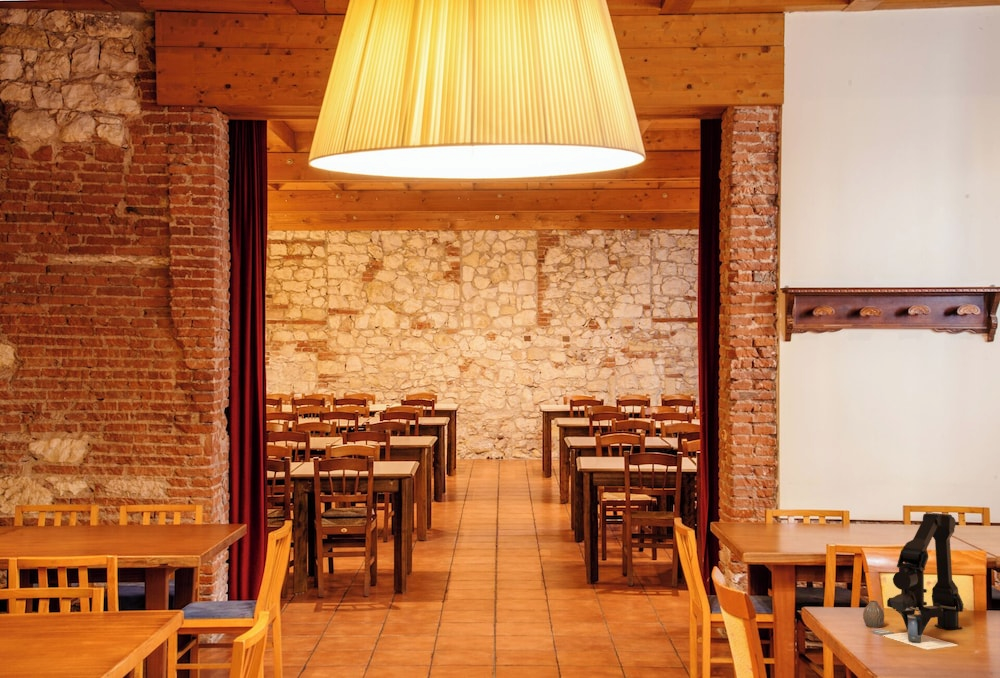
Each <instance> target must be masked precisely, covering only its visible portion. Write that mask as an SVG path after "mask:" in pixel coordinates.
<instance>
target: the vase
mask: <svg viewBox="0 0 1000 678" xmlns="http://www.w3.org/2000/svg"><path fill="white" fill-rule="evenodd" d="M862 619H863V623H864V625H866V626H867V627H868V628H873V629H877V628H880V627H882V626H883V624H884V621H885V613H884V610H883V608H882V607H881V606H880V604H879V602H878V601H877V600H869V602H868V604H867V605H866V606H865V608H864V609H863V613H862Z"/></svg>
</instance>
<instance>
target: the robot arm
mask: <svg viewBox="0 0 1000 678" xmlns="http://www.w3.org/2000/svg"><path fill="white" fill-rule="evenodd" d="M955 528H956V519H955V517H954V516H953V515H952V514H948V513H947V514H946V513H938V512H937V513H935V512H932V513H929V512H926V513H924V514H923V515H922V521H921V523H920V525H919V526H918V529H917V530H916V533H915V535H914V536H913V538H912V540H909V541H908V542H906V543H905V544H904V546H903V547H902V549H901V551H900V554H899V557H898V561H897V565H896V568H897V569H898V572H896V573H894V575H893V577H892V582H893V585H894V586H895V587H896V588H897V589H899V590H901V593H899V594H896V595H894V596H893V597H888V599H887V600H886V607H888V608H891V609H893V610H895V611H896V612H897V613H898V614H900V615H901V617H902V620H903V622H904V626H905V628H906V632H908V617H907V615H908V614H916V611H917V612H918V614H917V615H914V616H915V617H916V619H917V630H918V635H919V636H921V635H923V633H924V631H925V629H926V628H927V626H928V623H929V622H930V621H931V619H932V618H933V619H934V618H936V619H937V620H936V621H937V623H936V624H934V627H937V628H940V629H944V630H947V631H952V630H959V629H963V626H960V625H959V613H963V612H964V607H965V606H964V602H963V600H962V597H961V595H960V593H959V588H958V586H957V584H956V583H955V582H954V581H953V571H952V555H951V554H952V553H951V551H952V550H951V538H952V536H953V534H954V533H955ZM932 538H933V539H934V545H935V546H934V547H935V561H936V565H935V566H936V576H937V577H936V579H937V581H936V582H935V585H934V586H933V587H932V591H931V592H932V593H931V601H932V605H928V602H927V601H925V594H926V593H927V591H928V590H927V589H926V588H925V586H924V585H925V583H924V581H925V577H924V576H925V573H924V571H925V570H926V565H927V563H928V560H929V553H928V550H927V549H928V547H929V545H930V544H931V543H930V542H931V541H932Z"/></svg>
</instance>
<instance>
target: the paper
mask: <svg viewBox="0 0 1000 678" xmlns="http://www.w3.org/2000/svg"><path fill="white" fill-rule="evenodd" d="M884 636H885V637H884ZM882 637H884V638H888V639H891V640H895V641H898V642H901V643H904V644H908V645H911V646H914V647H917V648H920V649H923V650H928V651H929V650H935V649H944V648H951V647H953V648H954V647H958V646H959V645H958V643H957V644H955V643H953V642H950V641H949V642H948V641H945V640H942V639H939V638H936V637H931V636H929V635H925V634H922V635H921V642H913V641H909V640H908V631H906V632H899V633H894V634H886V635H882Z"/></svg>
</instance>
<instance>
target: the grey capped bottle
mask: <svg viewBox="0 0 1000 678" xmlns="http://www.w3.org/2000/svg"><path fill="white" fill-rule="evenodd" d="M914 615H918V614H916V613H915V614H908V615H907V617H908V631H907V632H908V640H909V641H913V642H921V636H919V635H918V630H917V619H916V617H915V616H914Z"/></svg>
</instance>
